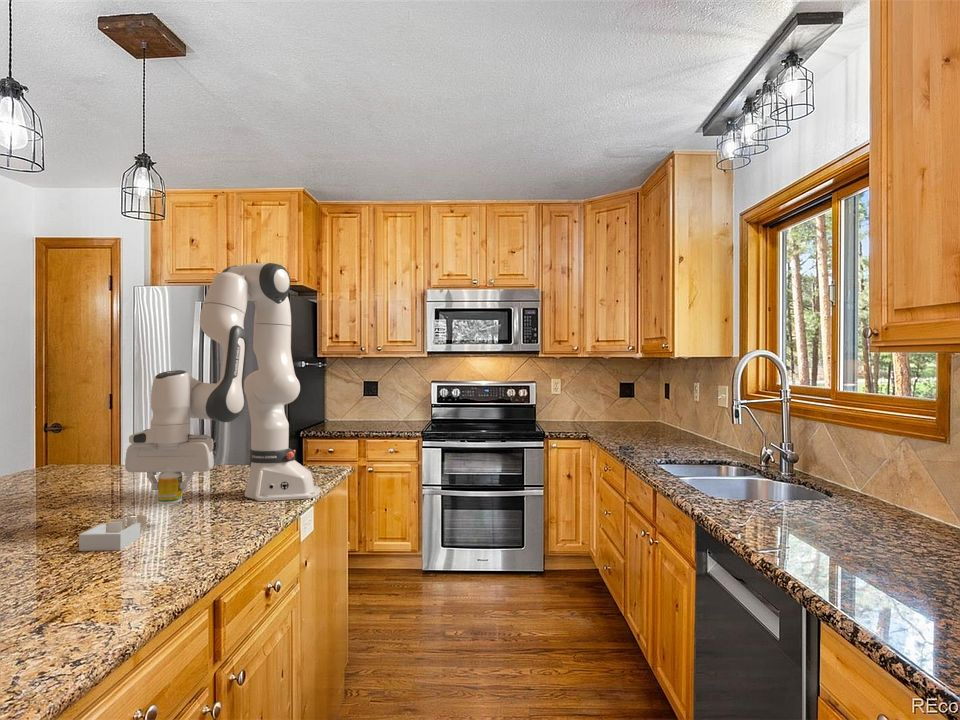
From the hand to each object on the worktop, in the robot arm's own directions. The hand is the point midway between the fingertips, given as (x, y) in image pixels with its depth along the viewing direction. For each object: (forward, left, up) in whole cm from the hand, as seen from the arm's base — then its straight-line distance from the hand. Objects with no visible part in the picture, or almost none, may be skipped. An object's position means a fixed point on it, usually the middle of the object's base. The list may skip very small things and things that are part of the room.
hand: (170, 489), depth 141 cm
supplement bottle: (0, 0, -3) cm, 3 cm away
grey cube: (+9, +7, -9) cm, 15 cm away
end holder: (+6, +15, -9) cm, 19 cm away
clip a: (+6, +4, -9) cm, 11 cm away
